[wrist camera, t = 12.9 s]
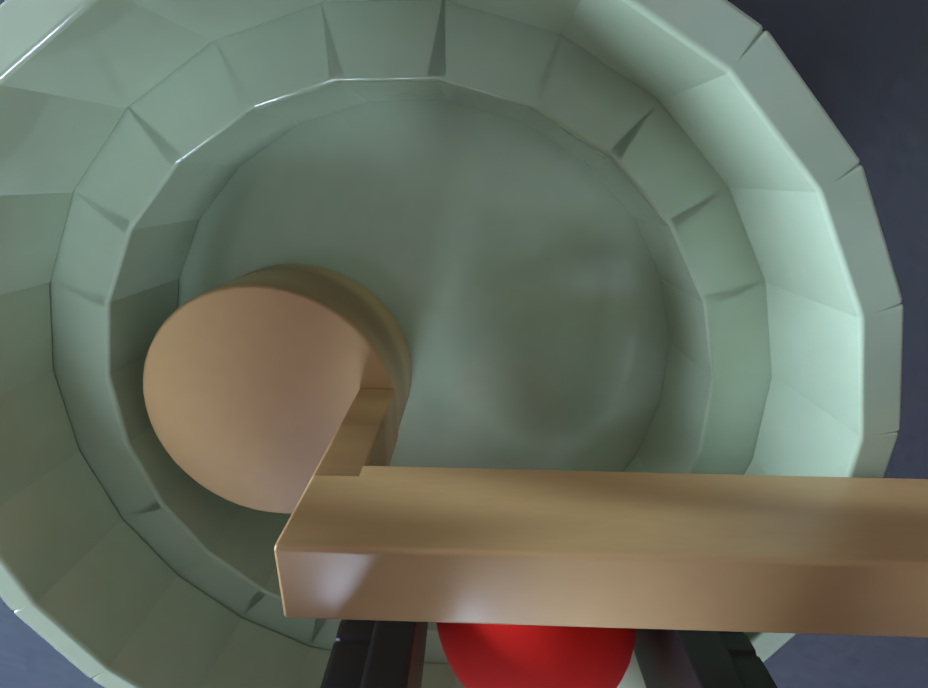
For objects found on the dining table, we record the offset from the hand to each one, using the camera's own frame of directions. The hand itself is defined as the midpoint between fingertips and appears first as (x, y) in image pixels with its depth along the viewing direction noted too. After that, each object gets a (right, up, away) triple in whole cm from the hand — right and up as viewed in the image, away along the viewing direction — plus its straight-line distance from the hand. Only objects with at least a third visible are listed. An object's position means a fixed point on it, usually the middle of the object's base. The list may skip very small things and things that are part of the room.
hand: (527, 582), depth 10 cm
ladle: (+1, +4, +2) cm, 5 cm away
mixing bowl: (-3, +5, +3) cm, 6 cm away
